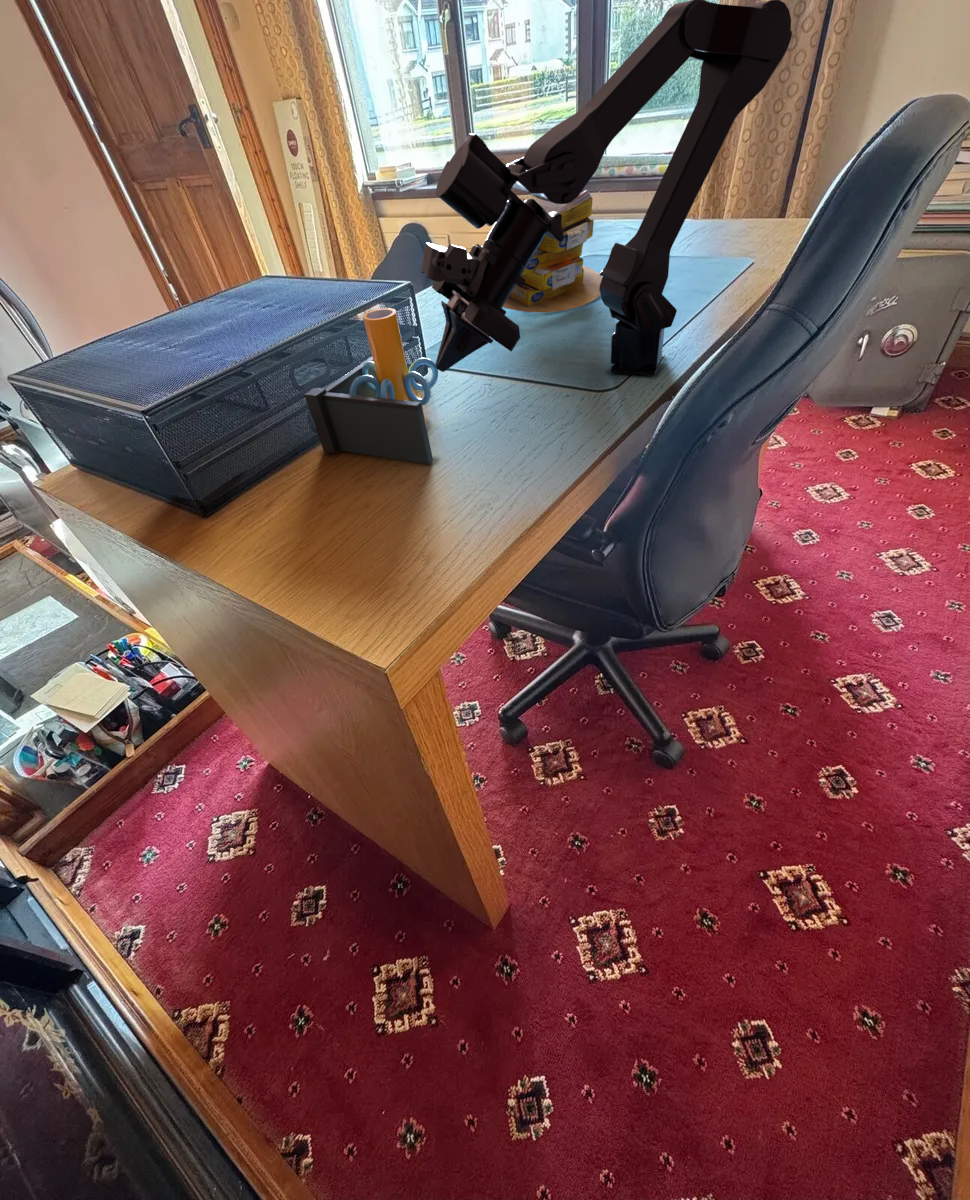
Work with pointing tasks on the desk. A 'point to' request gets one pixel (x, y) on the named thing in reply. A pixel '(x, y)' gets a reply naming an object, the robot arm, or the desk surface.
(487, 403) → the desk surface
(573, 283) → the stacked yellow boxes
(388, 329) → the cylinder
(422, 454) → the corner bracket
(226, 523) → the desk surface
